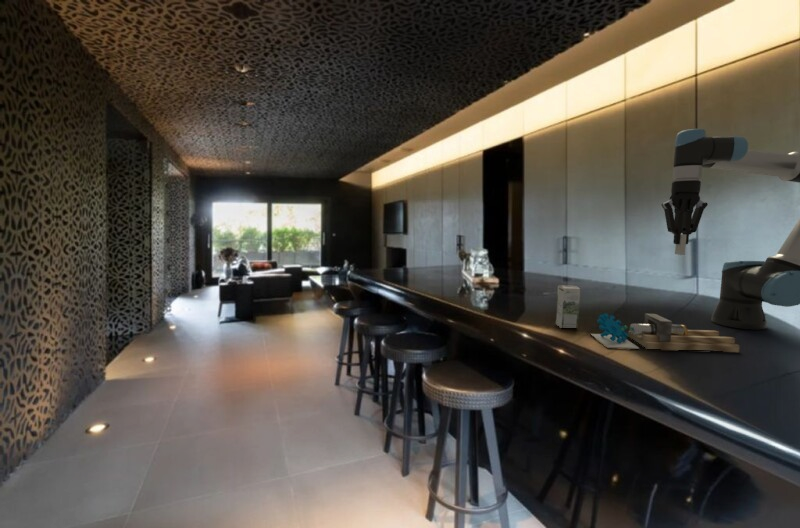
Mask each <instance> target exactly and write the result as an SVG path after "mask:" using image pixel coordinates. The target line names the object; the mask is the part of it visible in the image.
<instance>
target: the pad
mask: <svg viewBox="0 0 800 528" xmlns="http://www.w3.org/2000/svg"><path fill="white" fill-rule="evenodd" d="M590 334H591V335H592V336H594V337H595V338H596V339H597V340H599V341H600V342H601V343H602V344H603V345H605V346H606V347H608V348H627V349H626V350H630V349H639V350H640V347H639V346H637V345H636V344H635V343H632V342H631V341H630V340H629V339H627V340H625V341H622V342H621V343H618V342H617V337H615V338H616V340H614V341H612V340H611V339H610V337H612V335H610V334H609V335H608V336H604V337H601V335H600V334H601V333H590ZM620 338H621V337H620ZM602 344H601V345H602ZM603 345H602V346H603Z"/></svg>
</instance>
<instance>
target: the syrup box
mask: <svg viewBox="0 0 800 528" xmlns="http://www.w3.org/2000/svg"><path fill="white" fill-rule="evenodd" d="M556 292H557V294H556V295H557V296H556V313H555V325H556V326H557V327H558V326H559V327H558V328H560V329H561V328H578V327H579V315H580V314H579V313H580V302H581V301H580V300H581V288H580V287H578V286H576V285H558V286H557V291H556ZM578 329H579V328H578Z"/></svg>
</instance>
